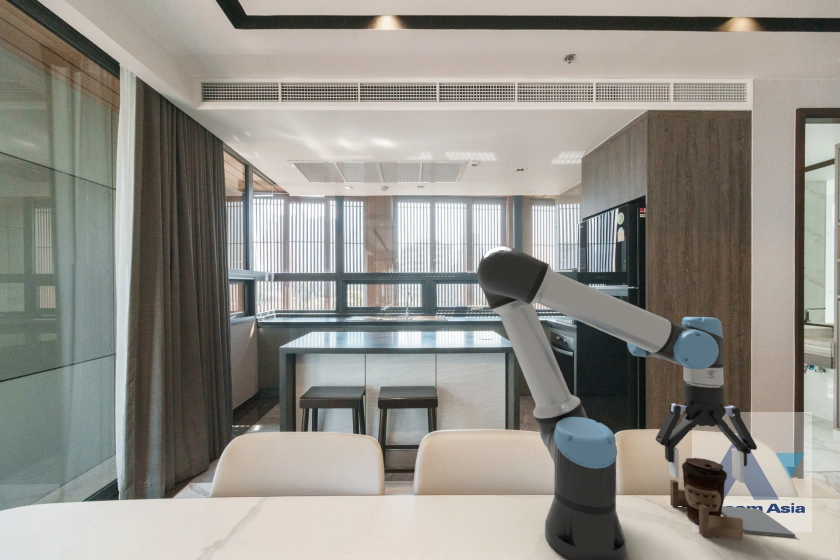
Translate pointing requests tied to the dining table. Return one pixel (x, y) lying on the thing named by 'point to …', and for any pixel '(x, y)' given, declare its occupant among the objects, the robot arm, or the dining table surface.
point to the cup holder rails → (709, 518)
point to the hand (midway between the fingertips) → (705, 478)
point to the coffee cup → (703, 486)
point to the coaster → (757, 521)
